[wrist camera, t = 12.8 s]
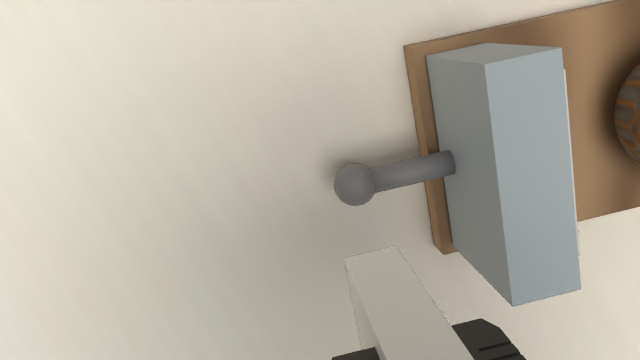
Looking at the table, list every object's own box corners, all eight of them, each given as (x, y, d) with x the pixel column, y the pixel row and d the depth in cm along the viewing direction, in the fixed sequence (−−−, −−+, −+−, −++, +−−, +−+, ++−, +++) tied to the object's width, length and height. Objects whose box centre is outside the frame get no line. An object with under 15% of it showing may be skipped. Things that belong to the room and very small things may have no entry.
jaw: (348, 272, 30) (379, 340, 23) (309, 81, 27) (332, 98, 20) (518, 230, 30) (594, 285, 24) (497, 40, 28) (577, 44, 21)
